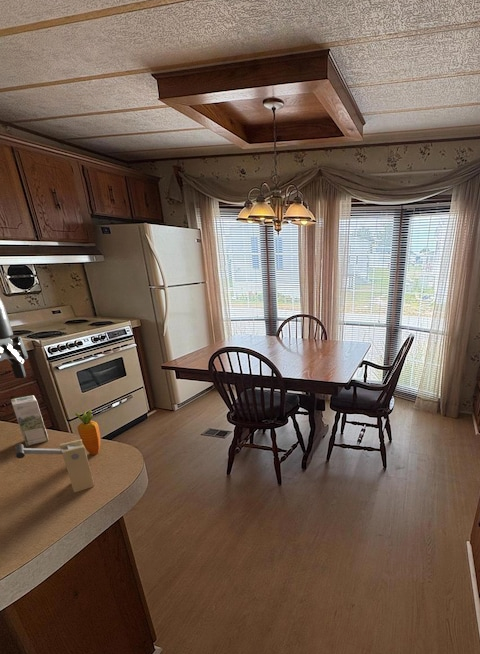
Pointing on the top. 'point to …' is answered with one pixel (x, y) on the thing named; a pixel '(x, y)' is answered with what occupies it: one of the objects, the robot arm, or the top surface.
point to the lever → (37, 450)
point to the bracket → (77, 465)
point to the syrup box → (30, 420)
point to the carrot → (89, 433)
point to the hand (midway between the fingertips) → (8, 383)
